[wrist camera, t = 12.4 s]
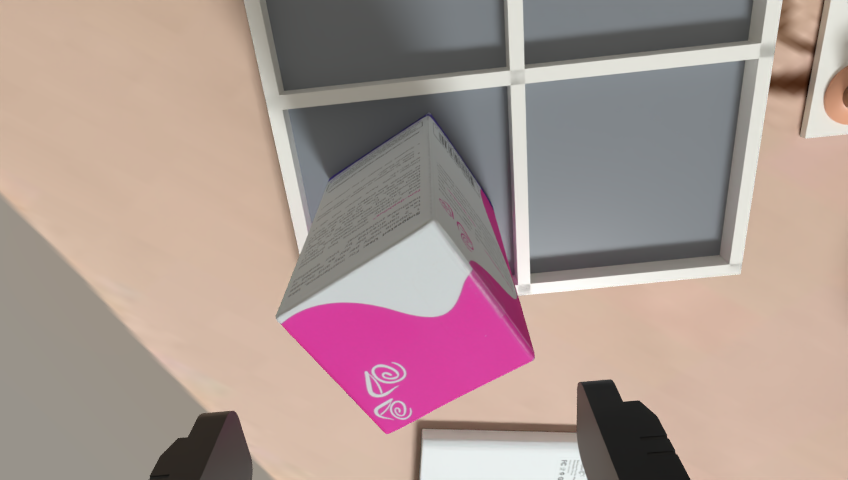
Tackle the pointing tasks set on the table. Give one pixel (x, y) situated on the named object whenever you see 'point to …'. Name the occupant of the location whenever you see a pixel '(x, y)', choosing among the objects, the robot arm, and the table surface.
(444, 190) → the supplement box
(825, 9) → the tile
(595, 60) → the socket board
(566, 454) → the external hard drive
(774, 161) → the table surface
